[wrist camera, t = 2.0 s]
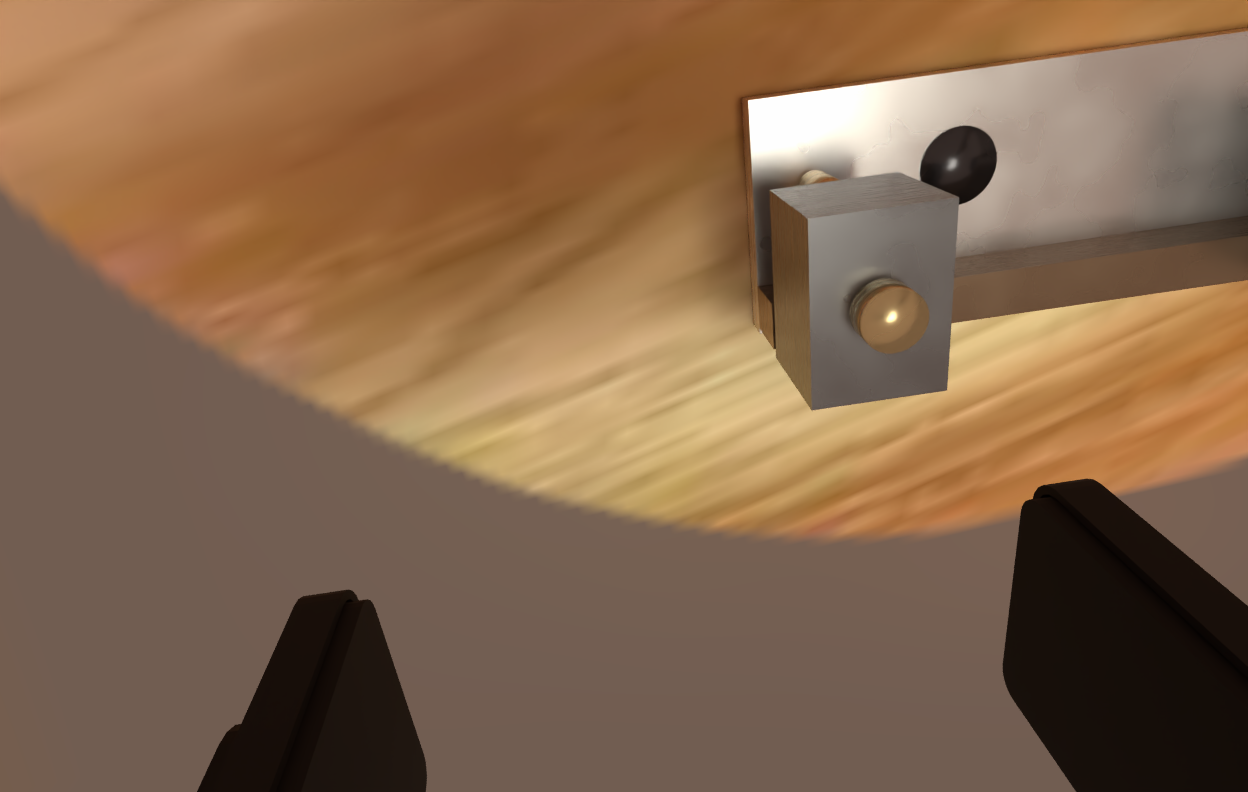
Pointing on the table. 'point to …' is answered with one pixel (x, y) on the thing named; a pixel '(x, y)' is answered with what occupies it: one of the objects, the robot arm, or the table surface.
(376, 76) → the table surface
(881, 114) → the bolt plate
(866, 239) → the grey block with knob
